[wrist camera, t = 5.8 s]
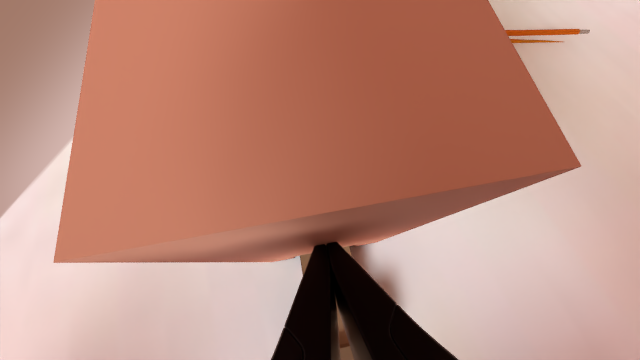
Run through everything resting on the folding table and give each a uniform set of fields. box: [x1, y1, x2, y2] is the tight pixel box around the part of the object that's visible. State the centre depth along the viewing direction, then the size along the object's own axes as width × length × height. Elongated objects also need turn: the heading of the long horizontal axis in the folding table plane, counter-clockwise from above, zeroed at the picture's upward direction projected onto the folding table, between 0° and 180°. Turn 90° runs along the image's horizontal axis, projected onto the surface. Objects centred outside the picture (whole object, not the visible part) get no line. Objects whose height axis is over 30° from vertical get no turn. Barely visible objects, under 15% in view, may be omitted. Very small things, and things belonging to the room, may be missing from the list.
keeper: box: [54, 0, 581, 263], centre depth 10 cm, size 5×7×14 cm
